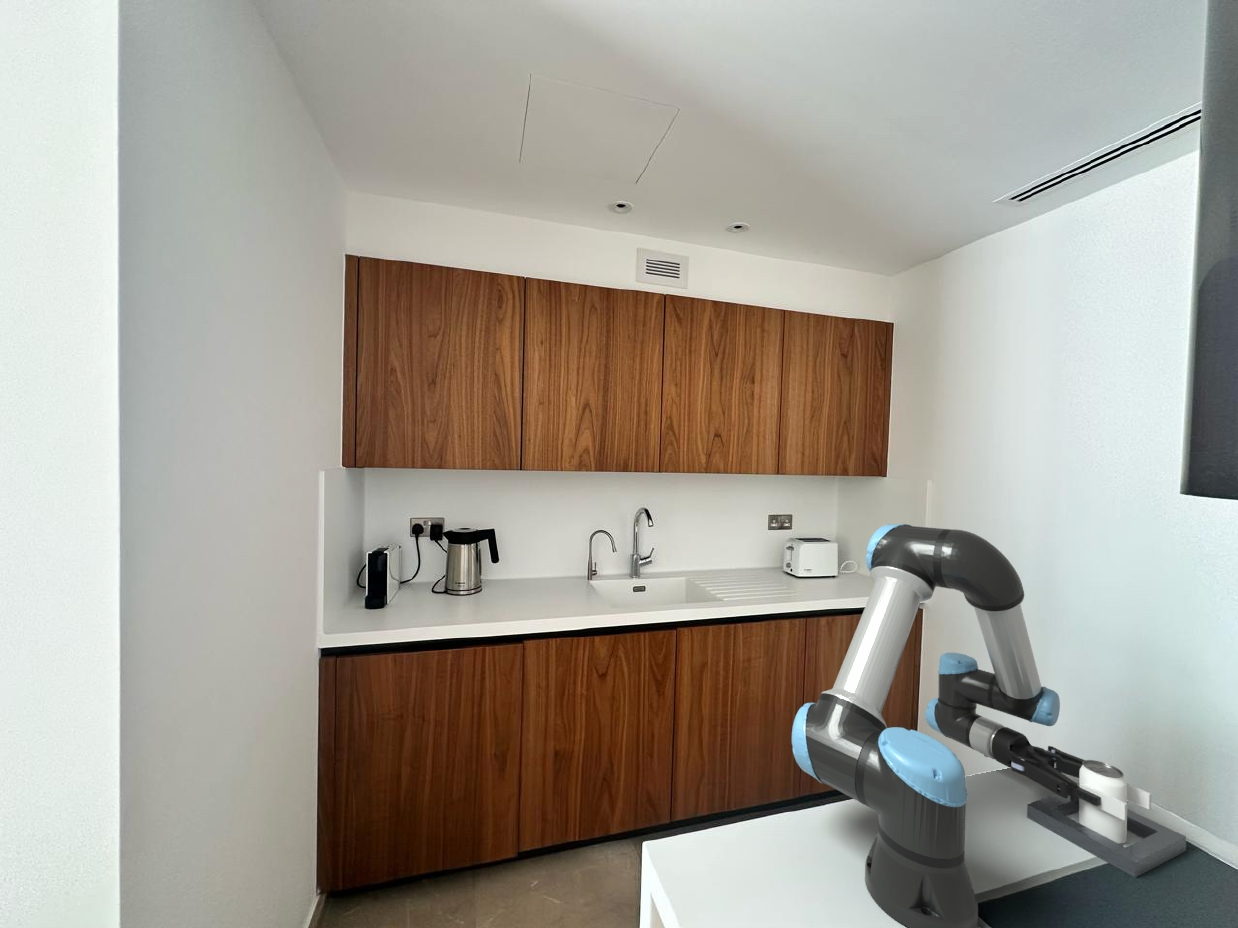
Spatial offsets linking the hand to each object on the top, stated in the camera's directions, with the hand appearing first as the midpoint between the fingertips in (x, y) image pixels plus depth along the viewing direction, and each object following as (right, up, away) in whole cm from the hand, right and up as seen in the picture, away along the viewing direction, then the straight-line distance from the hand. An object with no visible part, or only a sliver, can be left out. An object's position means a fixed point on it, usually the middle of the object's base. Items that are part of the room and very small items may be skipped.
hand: (1138, 806), depth 92 cm
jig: (-2, -8, +4) cm, 9 cm away
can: (-2, -8, +4) cm, 9 cm away
